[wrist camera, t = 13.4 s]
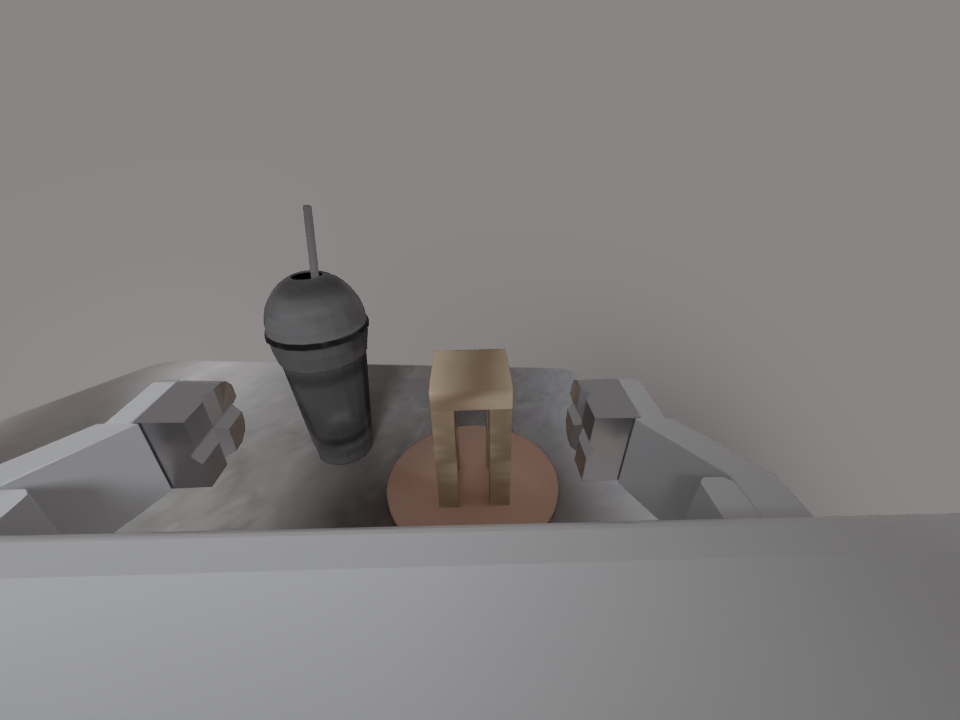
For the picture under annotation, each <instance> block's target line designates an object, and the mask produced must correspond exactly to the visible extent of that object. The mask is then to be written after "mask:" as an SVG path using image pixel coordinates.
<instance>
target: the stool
mask: <svg viewBox="0 0 960 720" xmlns="http://www.w3.org/2000/svg"><path fill="white" fill-rule="evenodd" d="M429 399H430V410H431V421H432V432H433V443H434V454H435V465H436V476H437V487H438V498H439V508H452V507H459V478H458V470H459V463H460V457H459V438H458V418H457V411H464V410H486V459H487V469H489V500H490V506H502V505H510V474H511V442H512V410H513V385H512V380H511V375H510V370H509V365H508V360H507V354H506V349H486V350H453V351H452V350H451V351H434V354H433V362H432V370H431V377H430V385H429Z"/></svg>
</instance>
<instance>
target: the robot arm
mask: <svg viewBox="0 0 960 720" xmlns="http://www.w3.org/2000/svg"><path fill="white" fill-rule="evenodd" d="M570 395H571V398H572V400H573V404H572V405H571V406H570V407H569V408H568V410H567V418H566V431H567V437H568V441H569V444H570V446H571V447H572V448H573V449H575V450H576V455H575V462H576V464H577V467H578V470H579V473H580V476H581V479H582V480H618V483H619V484H620V485H622V486H623V487H624V488H625V489H626V490H627V491H628V492H629V493H630V494H631V495H632V496H634V497H635V498H636V499H637V500H638V501H639V502H640V503H641V504H642V505H643V506H644V507H645V508H647V509H648V510H649V511H650V512H651V513H652V514H653V515H654V516H655V517H656V518H657V519H659V520H651V521H612V522H574V523H528V524H482V525H437V526H394V527H353V528H312V529H272V530H229V531H186V532H142V533H114V532H115V531H117V530H118V529H120V528H121V527H122V526H124V525H125V524H126V523H128V522H129V521H131V520H132V519H133V518H135V517H136V516H137V515H139V514H140V513H142V512H143V511H144V510H146V509H147V508H148V507H150V506H151V505H153V504H154V503H155V502H157V501H158V500H159V499H161V498H162V497H164V496H165V495H166V494H168V493H169V492H170V491H172V488H195V487H212V486H213V485H214V483H215V482H216V480H217V479H218V477H219V476H220V475H221V473H222V472H223V470H224V469H225V467H226V466H227V462H226V459H225V457H227V456H229V455H230V454H232V453H233V452H235V451H237V449H238V448H239V446H240V444H241V443H242V441H243V437H244V432H245V422H244V417H243V414H242V412H241V411H240V410H239V409H238V408H236V407H235V406H234V405H233V402H234V400H235V398H236V394H235V392H234V389H233V387H232V385H231V384H229V383H228V382H226V381H179V380H176V381H157V382H153V383H152V384H150V385H149V386H148V387H147V388H146V389H144V390H143V391H142V392H141V393H140V394H139V395H137V396H136V397H135V398H134V399H133V400H132V401H130V402H129V403H128V404H127V405H126V406H124V407H123V408H122V409H121V410H120V411H119V412H117V413H116V414H115V415H114V416H113V417H112V418H110V419H109V420H108V421H107V422H106V423H104V424H95V425H93V426H90V427H88V428H86V429H83V430H81V431H78V432H76V433H74V434H71V435H69V436H66V437H64V438H61V439H59V440H57V441H54V442H52V443H49V444H47V445H45V446H42V447H40V448H37V449H35V450H33V451H30V452H28V453H25V454H23V455H20V456H18V457H16V458H13V459H11V460H8V461H6V462H4V463H1V464H0V720H960V513H949V514H912V515H911V514H908V515H867V516H825V517H813V516H812V515H811V513H810V512H809V511H808V510H807V509H806V508H805V507H804V505H803V504H802V503H801V502H800V501H799V500H798V499H797V498H796V496H795V495H794V494H793V493H792V492H791V491H790V490H789V489H788V487H787V486H786V485H785V484H784V483H783V482H782V481H781V480H780V478H779V477H778V476H777V475H776V474H774V473H772V472H770V471H768V470H766V469H765V468H762V467H761V466H759V465H757V464H755V463H753V462H752V461H750V460H748V459H746V458H744V457H742V456H740V455H739V454H737V453H735V452H733V451H731V450H729V449H727V448H726V447H724V446H722V445H720V444H718V443H716V442H714V441H713V440H711V439H709V438H707V437H705V436H703V435H702V434H700V433H698V432H696V431H694V430H692V429H690V428H689V427H687V426H685V425H683V424H681V423H679V422H678V421H676V420H674V419H672V418H665V417H664V416H663V415H662V413H661V412H660V410H659V409H658V407H657V406H656V404H655V403H654V402H653V400H652V399H651V397H650V396H649V395H648V393H647V392H646V390H645V389H644V387H643V386H642V384H641V383H640V382H639V381H638V380H637V379H635V378H623V379H598V380H574V381H573V384H572V387H571V392H570Z"/></svg>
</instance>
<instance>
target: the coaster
mask: <svg viewBox="0 0 960 720" xmlns="http://www.w3.org/2000/svg"><path fill="white" fill-rule="evenodd" d="M458 438H459V457H460V463H459V470H458V478H459V507H452V508H439V498H438V487H437V476H436V465H435V454H434V443H433V434H431V435H429V436H427V437H425V438H423V439H421V440H420V441H418V442H417V443H415V444H414V445H412V446H411V447H410V448H409V449H408V450H407V451H405V452H404V453H403V455H402V456H401V457H400V458H399V459H398V461H397V462H396V464H395V465H394V467H393V469H392V471H391V473H390V477H389V480H388V485H387V501H388V506H389V510H390V514H391V517H392V519H393V521H394V523H395V525H396V526H437V525H482V524H528V523H549V522H550V521H551V519H552V517H553V515H554V512H555V509H556V505H557V499H558V480H557V475H556V472H555V470H554V467H553V465H552V463H551V462H550V460H549V459H548V457H547V456H546V455H545V453H544V452H543V451H542V450H541V449H540V448H539V447H537V446H536V445H535V444H534V443H532V442H531V441H529V440H528V439H526V438H525V437H523V436H520V435H518V434H516V433H514V432H512V442H511V474H510V505H502V506H490V500H489V469H487V459H486V426H481V425H469V426H459V427H458Z"/></svg>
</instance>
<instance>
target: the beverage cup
mask: <svg viewBox="0 0 960 720" xmlns="http://www.w3.org/2000/svg"><path fill="white" fill-rule="evenodd" d="M303 211H304V221H305V228H306V237H307V246H308V255H309V263H310V270H308V271H301V272H297V273H294V274H292V275H290V276H288V277H286V278H285V279H283V280H282V281H281V282H280V283H278V284H277V286H276V287H275V288H274V289H273V291H272V292H271V294H270V296H269V298H268V300H267V302H266V305H265V310H264V325H265V339H266V342H267V343H268V344H270V346H271V349H272V352H273V353H274V355H275V357H276V359H277V361H278V362H279V364H280V365H281V366H282V367H283V369H284V372H285V374H286V377H287V379H288V381H289V384H290V386H291V389H292V391H293V394H294V396H295V399H296V401H297V404H298V406H299V409H300V411H301V413H302V416H303V418H304V421H305V423H306V426H307V428H308V431H309V433H310V436H311V438H312V441H313V443H314V445H315V446H316V448H317V450H318V452H319V455H320V458H321V459H322V460H323V461H325V462H327V463H329V464H336V465H342V464H348V463H351V462H354V461H356V460H358V459H360V458H361V457H363V456H364V455H365V454H366V453H367V452H368V451H369V450H370V448H371V446H372V437H371V431H372V422H371V408H370V395H369V382H368V369H367V355H366V350H367V334H368V328H367V327H368V326H369V319H368V317H367V315H366V314H365V310H364V307H363V304H362V302H361V300H360V298H359V297H358V295H357V294H356V293H355V291H354V290H353V289H352V288H351V287H350V286H349V285H348V284H347V283H346V282H345V281H343V280H342V279H340V278H339V277H337V276H335V275H332V274H330V273H327V272H323V271H318V262H317V254H316V244H315V235H314V225H313V216H312V207H311V206H310V205H303Z"/></svg>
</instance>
